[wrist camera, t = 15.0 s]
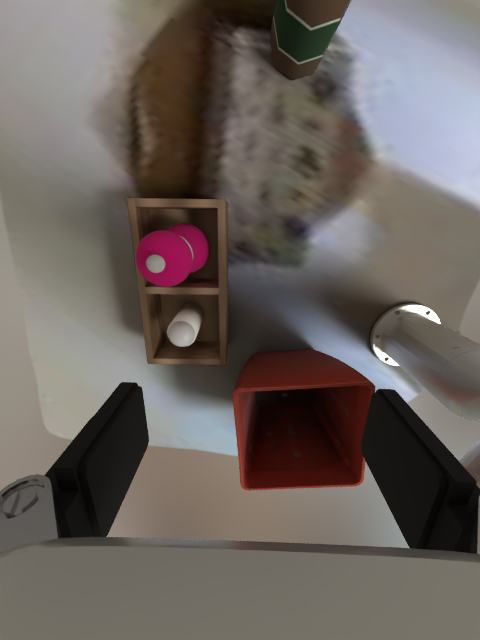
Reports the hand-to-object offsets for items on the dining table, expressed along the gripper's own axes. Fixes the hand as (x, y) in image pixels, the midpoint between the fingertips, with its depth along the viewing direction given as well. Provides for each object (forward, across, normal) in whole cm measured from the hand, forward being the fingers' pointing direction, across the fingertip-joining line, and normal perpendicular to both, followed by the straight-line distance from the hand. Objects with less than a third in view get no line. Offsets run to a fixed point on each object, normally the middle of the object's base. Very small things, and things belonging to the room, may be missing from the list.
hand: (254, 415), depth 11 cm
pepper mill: (+36, +10, -4) cm, 38 cm away
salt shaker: (+36, +10, +8) cm, 38 cm away
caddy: (+37, +10, +2) cm, 39 cm away
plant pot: (+38, -8, +22) cm, 45 cm away
